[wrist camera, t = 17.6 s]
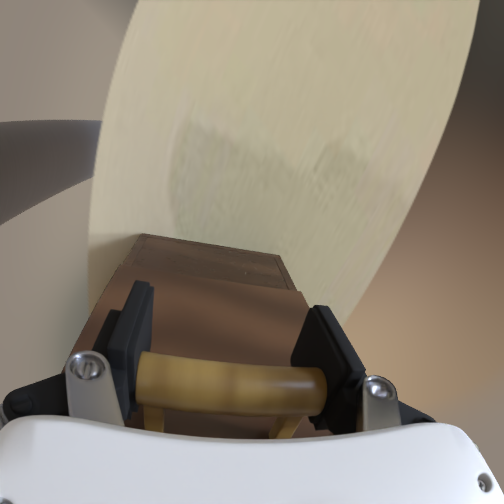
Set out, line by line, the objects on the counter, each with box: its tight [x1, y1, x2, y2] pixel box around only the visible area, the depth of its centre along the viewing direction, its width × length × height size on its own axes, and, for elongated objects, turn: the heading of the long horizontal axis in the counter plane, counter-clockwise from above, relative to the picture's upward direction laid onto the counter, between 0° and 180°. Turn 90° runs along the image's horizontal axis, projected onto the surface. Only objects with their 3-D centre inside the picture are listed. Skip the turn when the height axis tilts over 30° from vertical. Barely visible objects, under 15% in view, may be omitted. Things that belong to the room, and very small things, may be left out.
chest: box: [122, 233, 297, 291], centre depth 30 cm, size 16×15×8 cm
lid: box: [61, 265, 330, 439], centre depth 15 cm, size 16×15×5 cm
